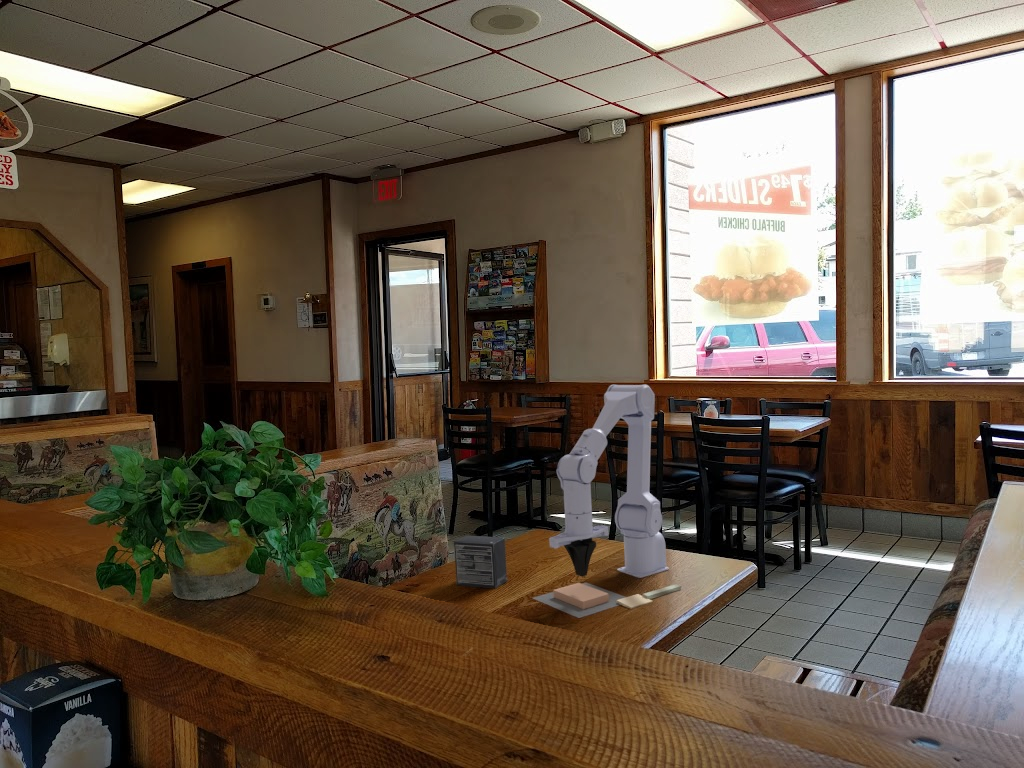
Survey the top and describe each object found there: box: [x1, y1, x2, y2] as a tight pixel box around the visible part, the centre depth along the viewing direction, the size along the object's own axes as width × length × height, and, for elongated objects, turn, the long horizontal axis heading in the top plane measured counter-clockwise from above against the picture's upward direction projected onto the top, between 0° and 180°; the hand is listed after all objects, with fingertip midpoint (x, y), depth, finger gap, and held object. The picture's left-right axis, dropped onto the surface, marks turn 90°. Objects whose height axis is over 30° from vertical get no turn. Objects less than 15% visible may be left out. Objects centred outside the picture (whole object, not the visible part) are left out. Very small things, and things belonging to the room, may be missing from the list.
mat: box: [532, 582, 627, 619], centre depth 166 cm, size 15×16×1 cm
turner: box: [617, 583, 682, 610], centre depth 165 cm, size 16×4×1 cm, turn 124°
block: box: [552, 582, 609, 609], centre depth 165 cm, size 2×10×7 cm
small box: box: [453, 535, 508, 589], centre depth 181 cm, size 11×6×10 cm, turn 65°
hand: (581, 574), depth 165 cm, fingers closed
